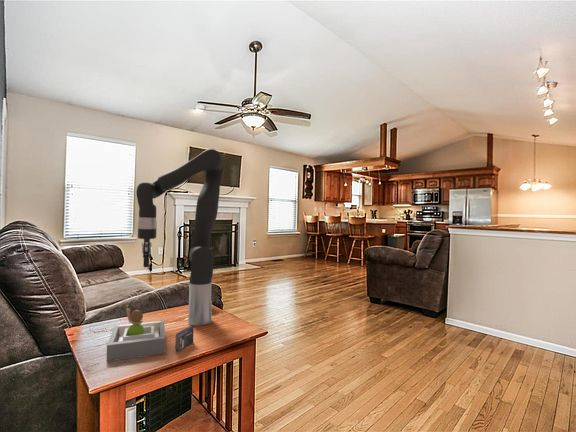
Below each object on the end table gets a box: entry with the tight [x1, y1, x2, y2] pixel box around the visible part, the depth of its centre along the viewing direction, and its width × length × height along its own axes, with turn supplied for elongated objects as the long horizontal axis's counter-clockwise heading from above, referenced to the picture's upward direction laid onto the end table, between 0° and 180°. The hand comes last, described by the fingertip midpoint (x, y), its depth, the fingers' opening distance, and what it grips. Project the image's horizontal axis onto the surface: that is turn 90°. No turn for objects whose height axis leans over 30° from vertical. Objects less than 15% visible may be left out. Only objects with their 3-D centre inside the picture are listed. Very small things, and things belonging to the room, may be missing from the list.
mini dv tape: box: [174, 325, 194, 353], centre depth 108 cm, size 8×2×6 cm, turn 163°
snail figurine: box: [125, 304, 144, 336], centre depth 111 cm, size 5×6×12 cm
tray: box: [115, 320, 161, 342], centre depth 111 cm, size 17×17×4 cm
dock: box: [106, 320, 166, 362], centre depth 108 cm, size 17×18×5 cm
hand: (146, 266), depth 136 cm, fingers closed
